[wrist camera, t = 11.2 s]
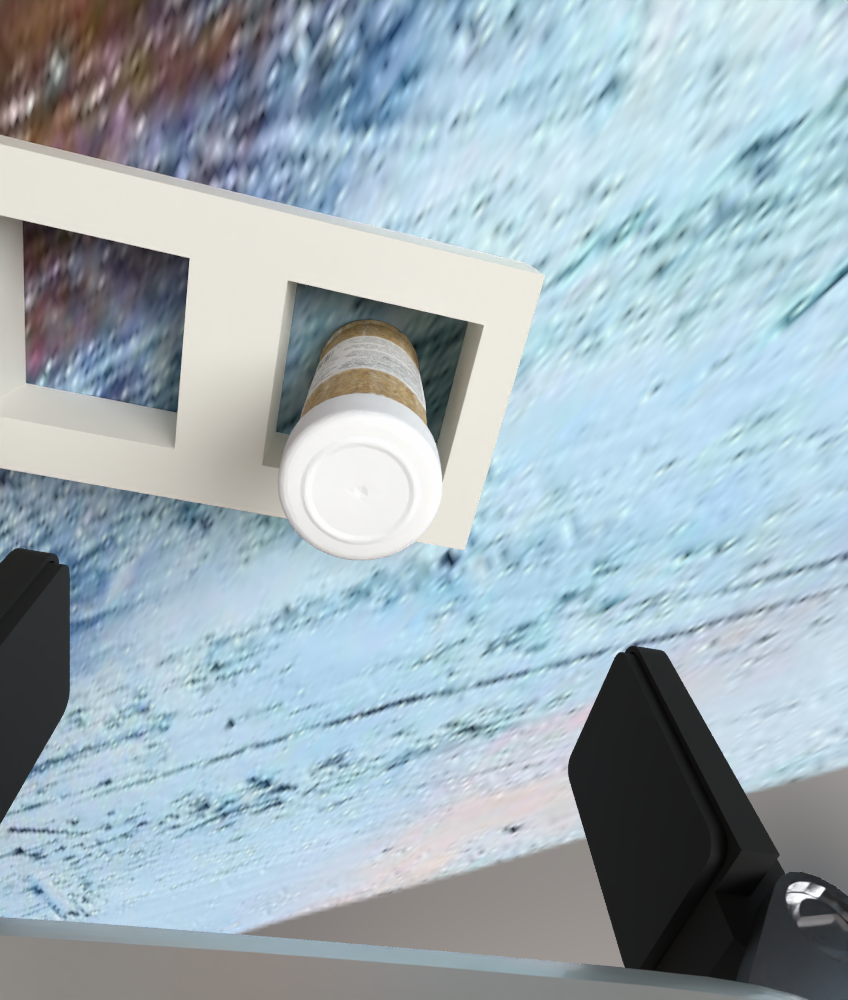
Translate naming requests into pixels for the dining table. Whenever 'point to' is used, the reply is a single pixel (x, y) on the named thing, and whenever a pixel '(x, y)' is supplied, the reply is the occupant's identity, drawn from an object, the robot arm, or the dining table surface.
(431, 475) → the sprinkles bottle
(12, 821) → the dining table surface
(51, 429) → the condiment rack
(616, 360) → the dining table surface
